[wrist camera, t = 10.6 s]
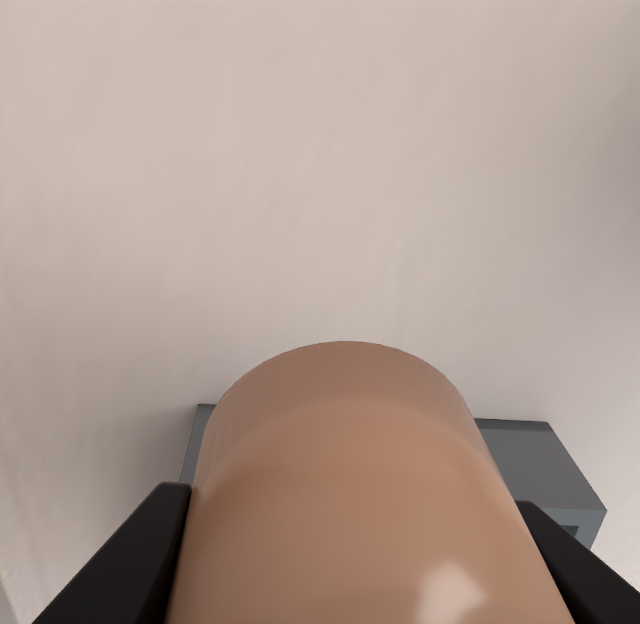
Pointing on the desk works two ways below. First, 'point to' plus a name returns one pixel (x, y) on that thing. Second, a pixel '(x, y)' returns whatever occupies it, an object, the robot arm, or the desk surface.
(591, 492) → the bin
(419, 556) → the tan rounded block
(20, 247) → the desk surface
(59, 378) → the desk surface
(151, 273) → the desk surface
